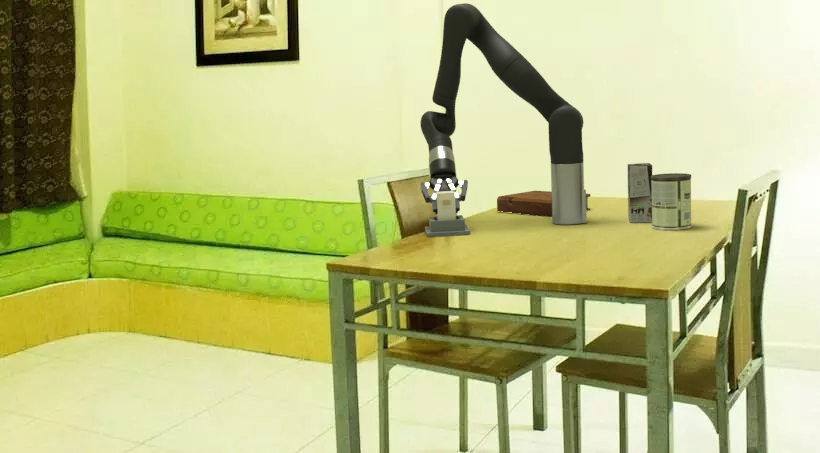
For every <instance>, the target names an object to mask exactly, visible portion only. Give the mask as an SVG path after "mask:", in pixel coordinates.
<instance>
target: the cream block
mask: <svg viewBox="0 0 820 453" xmlns="http://www.w3.org/2000/svg"><path fill="white" fill-rule="evenodd" d="M436 197H437V198H436V200H437V208H438V214H436V217H437V221H438V220H456V215H457V213H456V206H455V192H454V191H439V192H436Z"/></svg>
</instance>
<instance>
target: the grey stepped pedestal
mask: <svg viewBox="0 0 820 453" xmlns="http://www.w3.org/2000/svg"><path fill="white" fill-rule="evenodd" d="M465 220H466V219H465V218H464V217H463V215H462V214H459V215H457V214H456V220H438V221H437V216H429V217H428V221H429V222H428V223H429V226H424V232H425V235H426V238H435V237H434V236H438V237H453V236H454V235H457V236H470V235H469V234H471V230H470V228H469V226H468V225H467V224H466V221H465Z"/></svg>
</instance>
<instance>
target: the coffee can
mask: <svg viewBox="0 0 820 453" xmlns="http://www.w3.org/2000/svg"><path fill="white" fill-rule="evenodd" d="M651 184H652V222H651V225H652V226H651V228H652V229H653V230H659V231H679V230H680V231H683V230H688V229H691V228H692V174H690V173H682V172H681V173H676V172H675V173H659V174H652V176H651Z"/></svg>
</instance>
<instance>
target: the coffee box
mask: <svg viewBox="0 0 820 453" xmlns="http://www.w3.org/2000/svg"><path fill="white" fill-rule="evenodd" d="M652 175H653V165H652V164H651V163H650V162H643V163H642V162H641V163H628V164H627V204H628V206H627V211H628V215H627V216H628V221H629V222H630V223H632V224H633V223H634V224H635V223H652V184H651V176H652Z"/></svg>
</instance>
